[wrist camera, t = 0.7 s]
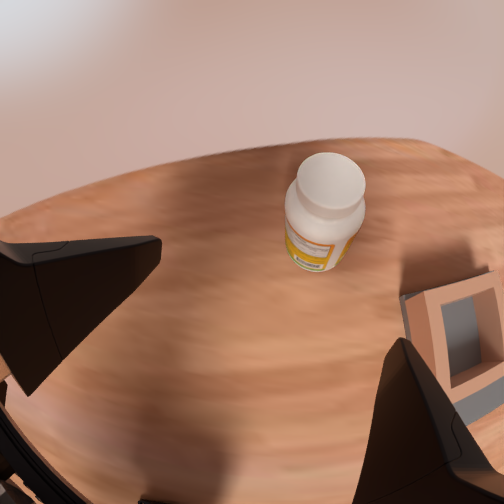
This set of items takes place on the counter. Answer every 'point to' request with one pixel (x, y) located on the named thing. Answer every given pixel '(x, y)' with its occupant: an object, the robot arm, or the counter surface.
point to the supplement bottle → (323, 210)
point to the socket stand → (461, 340)
